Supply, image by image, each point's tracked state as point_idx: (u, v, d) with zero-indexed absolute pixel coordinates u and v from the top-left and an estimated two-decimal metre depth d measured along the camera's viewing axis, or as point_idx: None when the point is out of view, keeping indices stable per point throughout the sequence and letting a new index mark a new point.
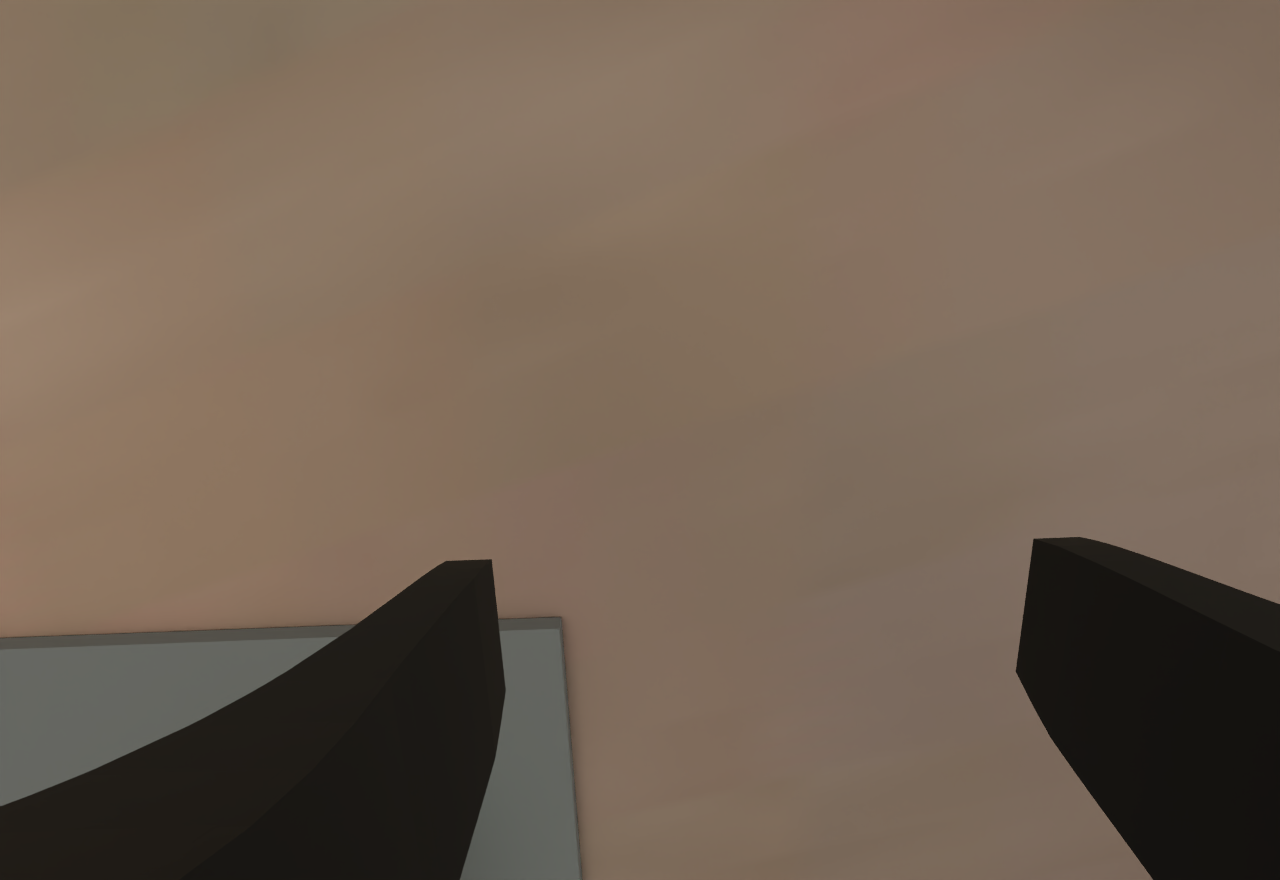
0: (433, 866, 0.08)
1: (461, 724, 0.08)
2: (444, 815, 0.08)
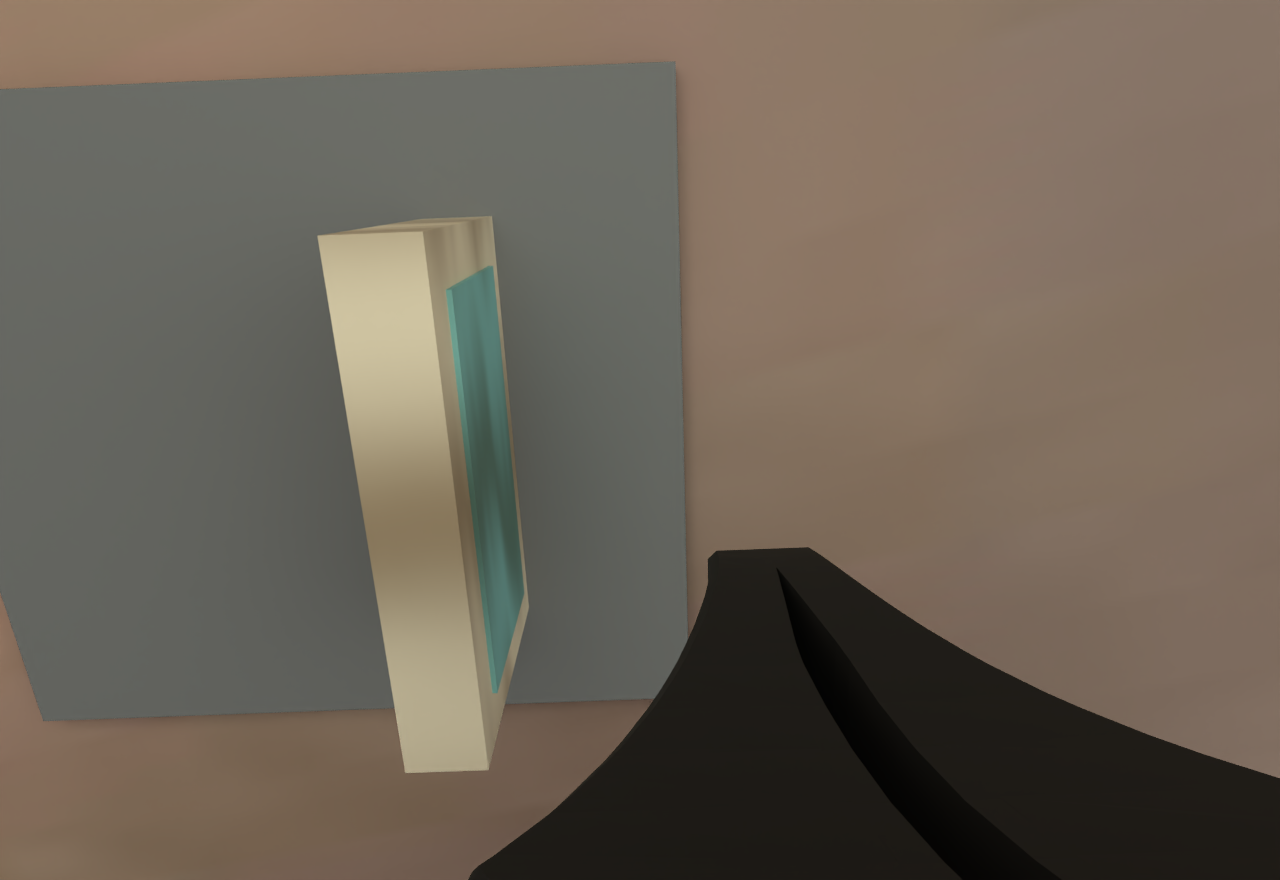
0: None
1: None
2: None
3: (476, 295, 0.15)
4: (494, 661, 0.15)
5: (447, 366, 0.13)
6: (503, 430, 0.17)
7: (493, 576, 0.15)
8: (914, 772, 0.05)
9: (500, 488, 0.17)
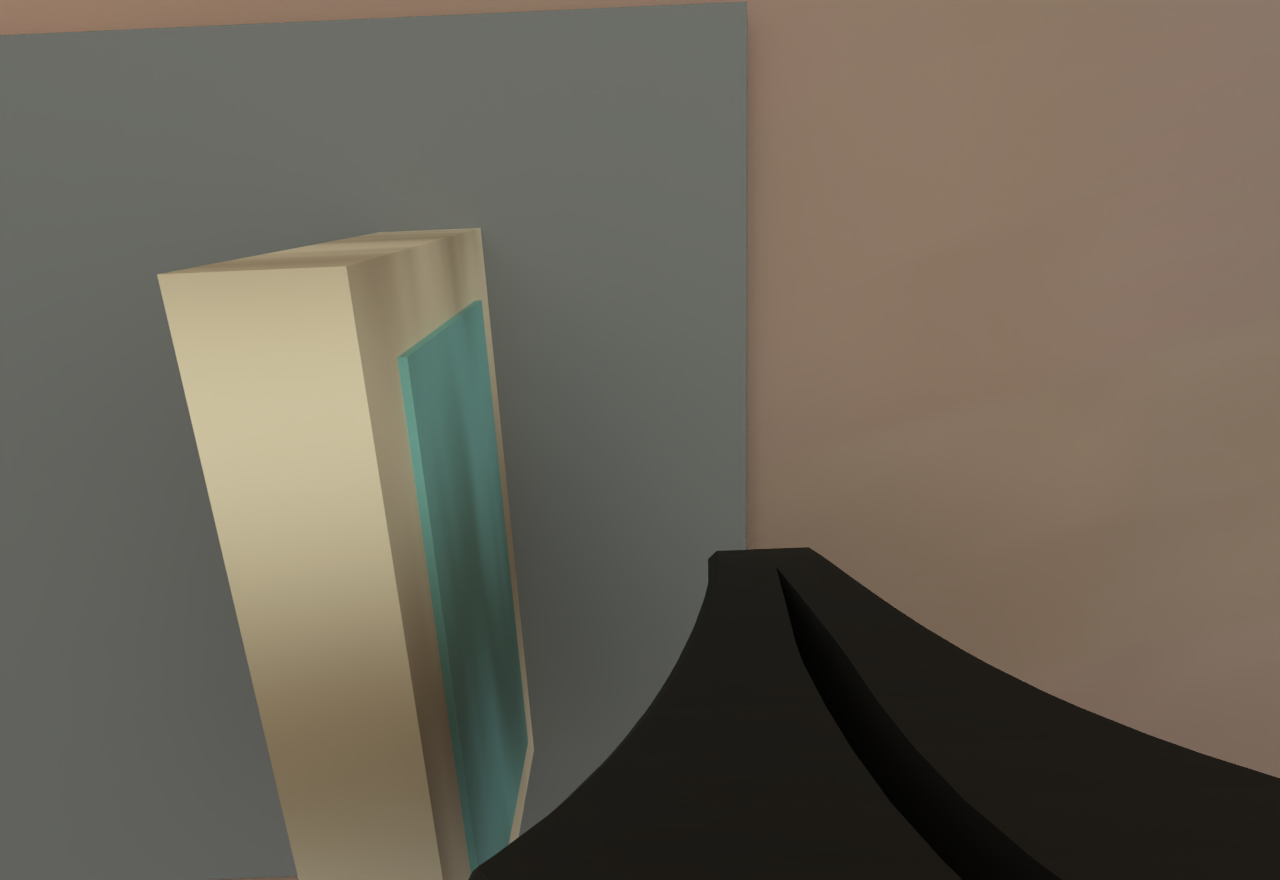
0: None
1: None
2: None
3: (454, 352, 0.10)
4: None
5: (399, 487, 0.08)
6: (497, 534, 0.12)
7: (482, 772, 0.10)
8: (913, 773, 0.05)
9: (493, 625, 0.11)
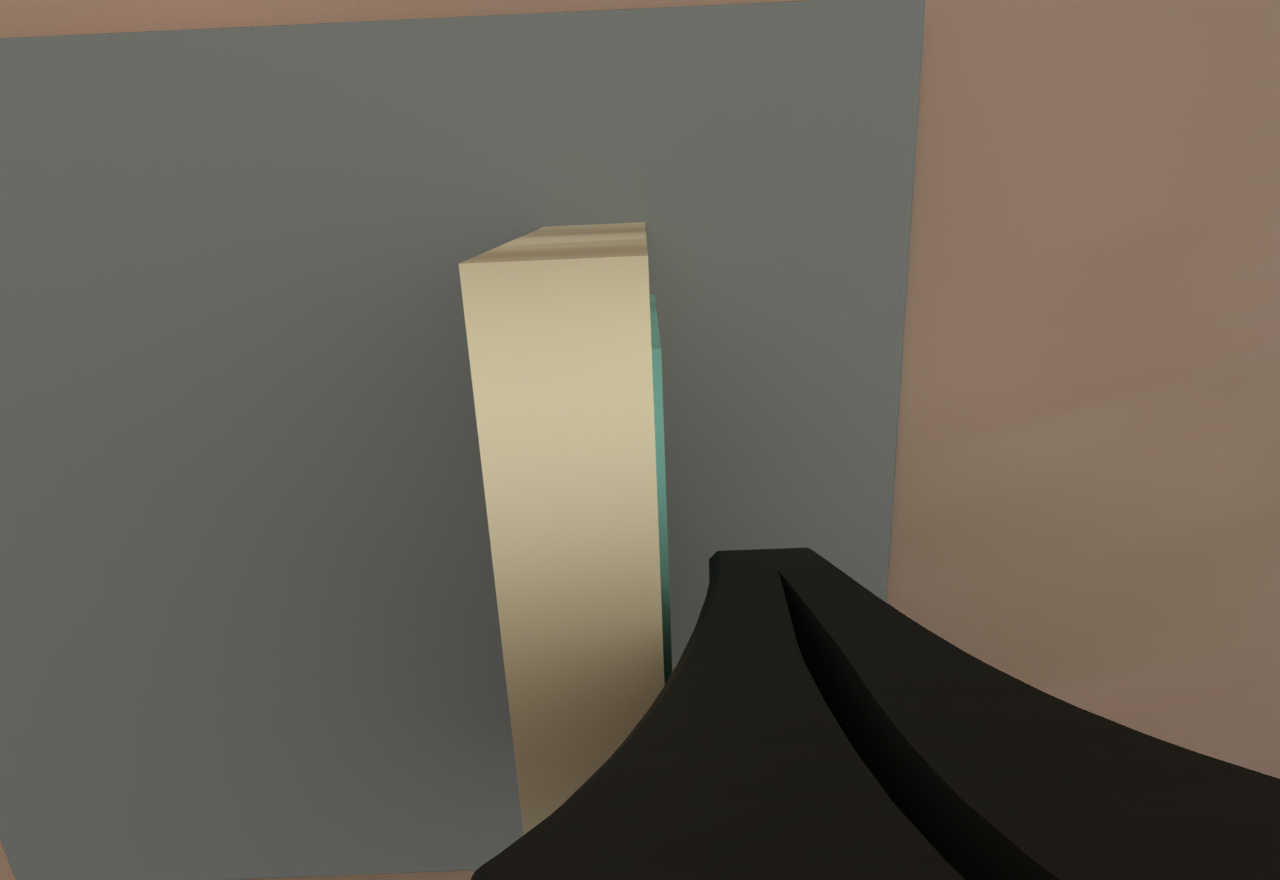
0: None
1: None
2: None
3: None
4: None
5: None
6: None
7: None
8: (912, 772, 0.05)
9: None
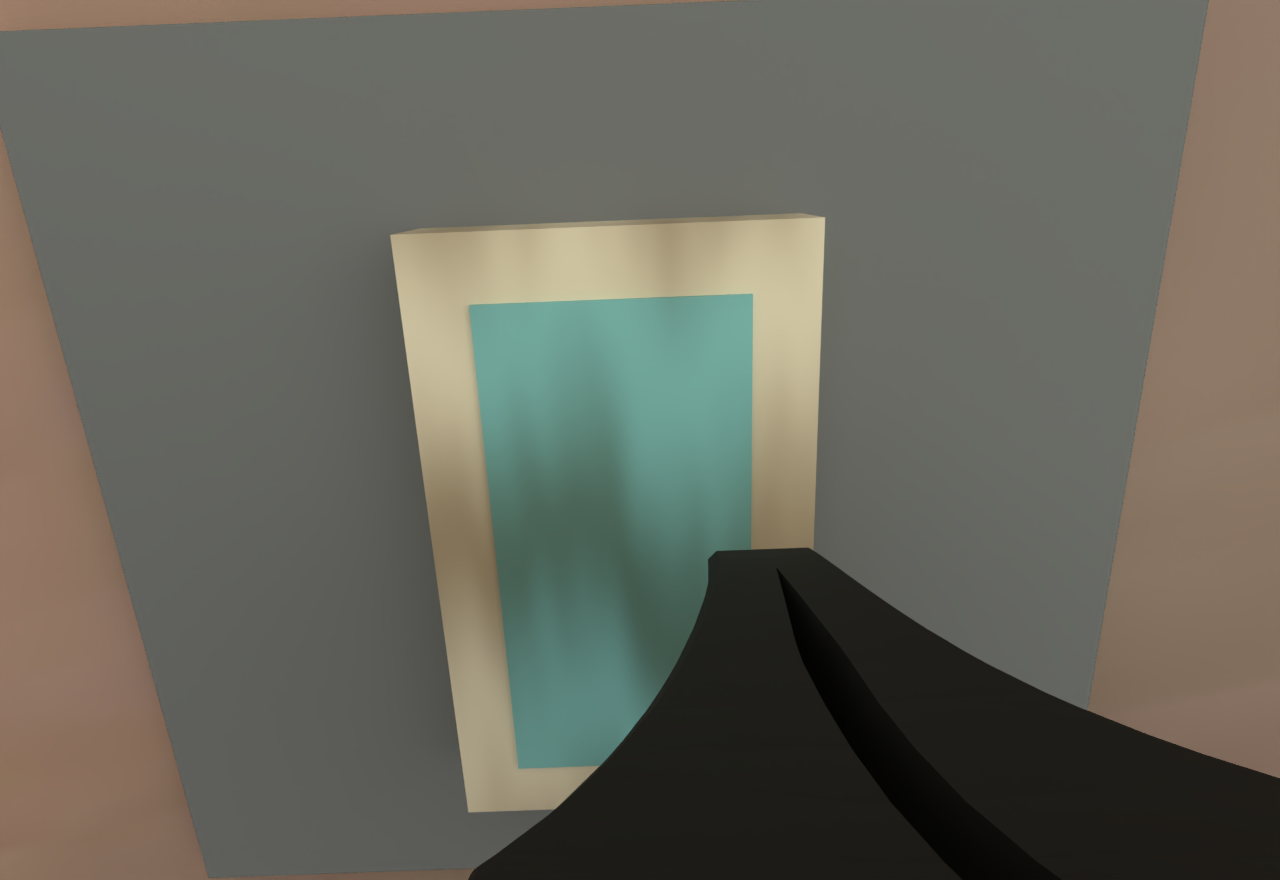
0: None
1: None
2: None
3: (607, 326, 0.11)
4: (518, 735, 0.13)
5: (444, 388, 0.11)
6: (711, 526, 0.12)
7: (552, 657, 0.13)
8: (913, 773, 0.05)
9: (645, 585, 0.12)
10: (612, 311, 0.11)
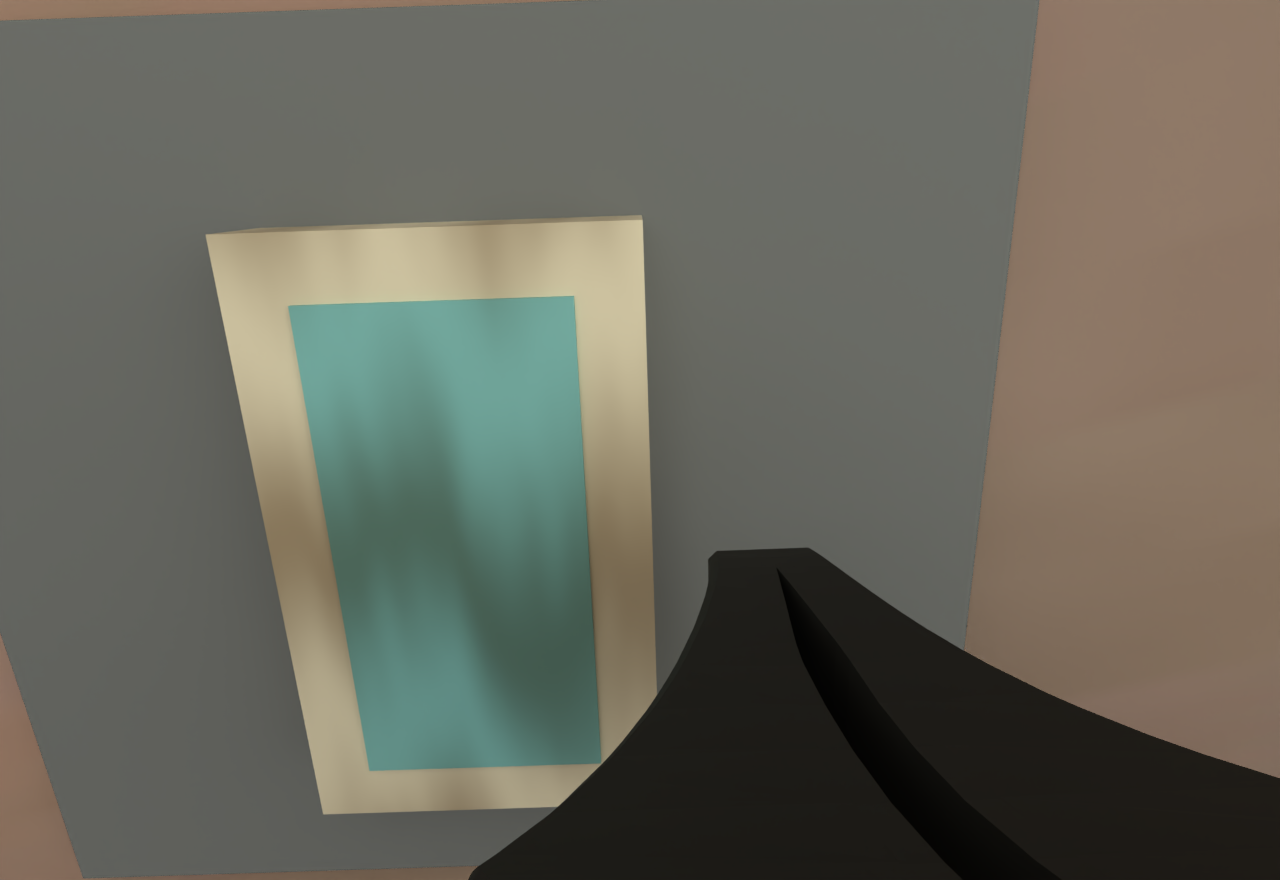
0: None
1: None
2: None
3: (428, 327, 0.11)
4: (367, 737, 0.13)
5: (269, 388, 0.11)
6: (547, 529, 0.12)
7: (395, 660, 0.13)
8: (913, 773, 0.05)
9: (484, 588, 0.12)
10: (433, 313, 0.11)
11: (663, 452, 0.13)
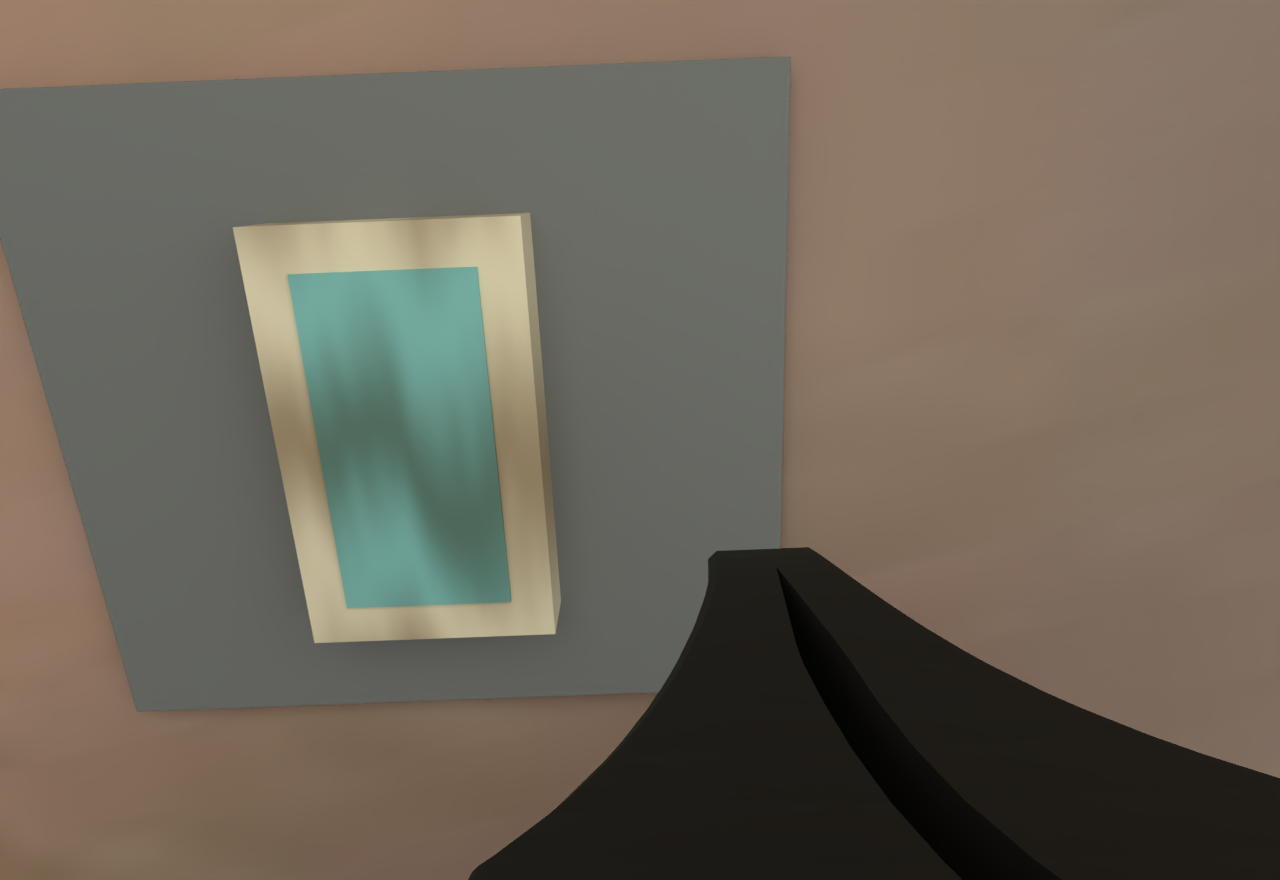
0: None
1: None
2: None
3: (380, 288, 0.16)
4: (344, 582, 0.19)
5: (275, 331, 0.17)
6: (465, 428, 0.17)
7: (363, 524, 0.18)
8: (913, 772, 0.05)
9: (424, 471, 0.18)
10: (383, 278, 0.16)
11: (554, 381, 0.19)
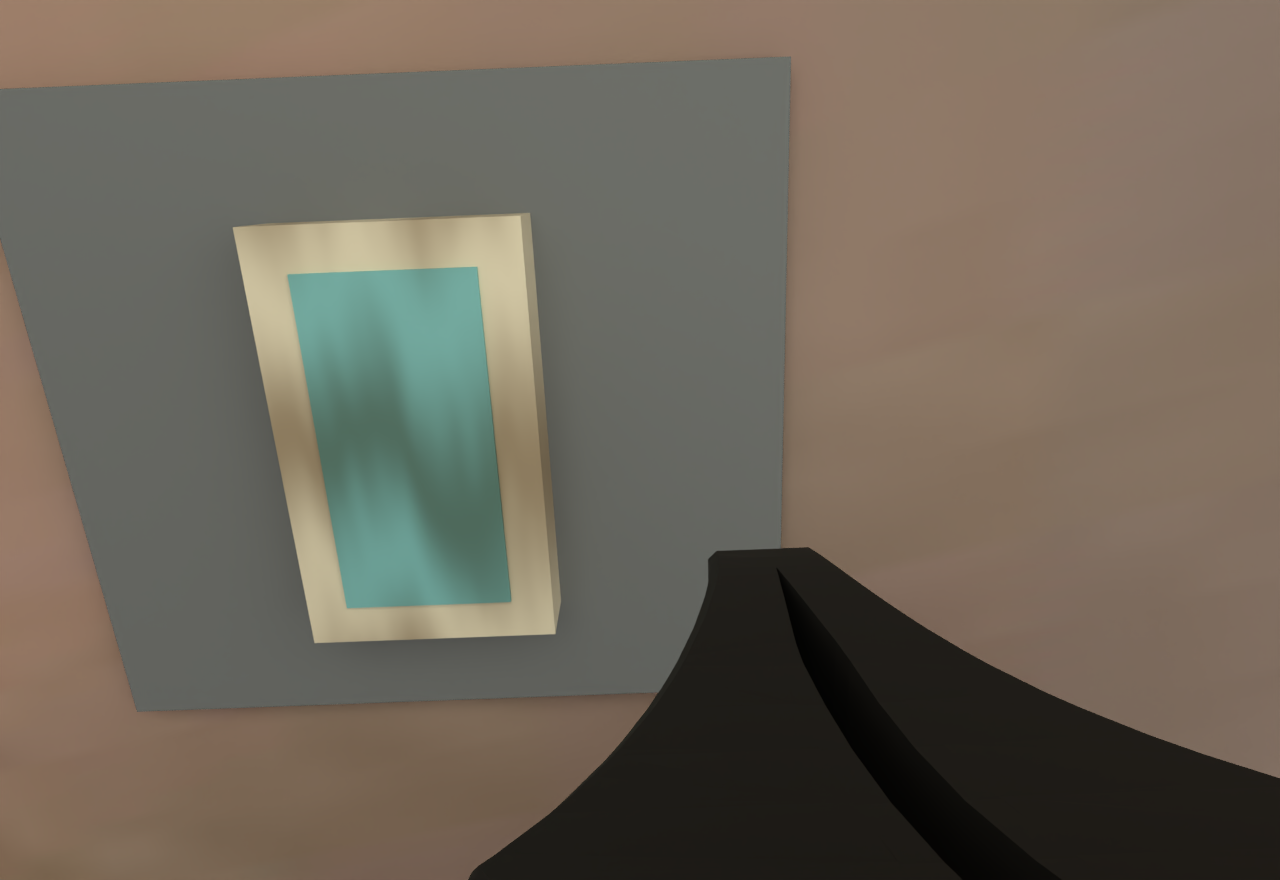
0: None
1: None
2: None
3: (380, 288, 0.16)
4: (344, 582, 0.19)
5: (275, 331, 0.17)
6: (465, 428, 0.17)
7: (363, 524, 0.18)
8: (913, 772, 0.05)
9: (424, 471, 0.18)
10: (383, 278, 0.16)
11: (554, 381, 0.19)
